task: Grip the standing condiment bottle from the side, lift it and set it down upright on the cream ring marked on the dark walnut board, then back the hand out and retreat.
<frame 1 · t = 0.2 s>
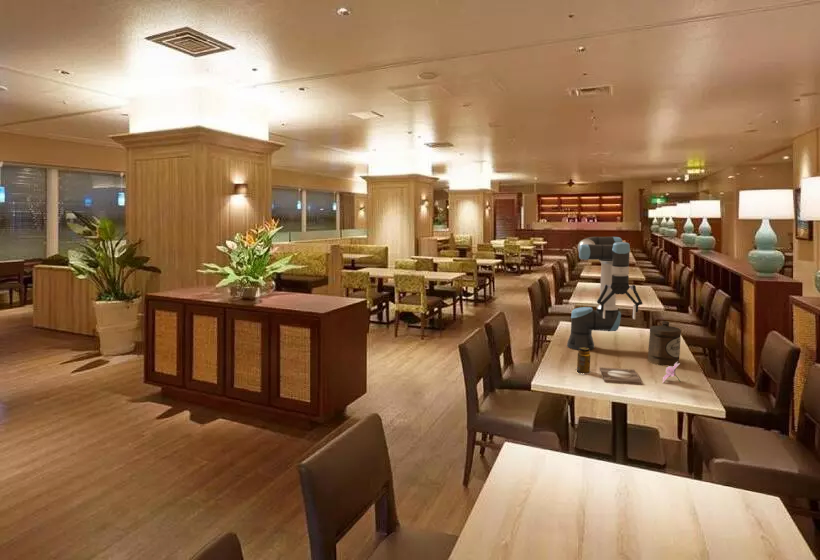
hand: (618, 318, 251), 27 cm above the table, tool pointing down, fingers open, 13 cm apart
board: (619, 376, 249), on the table
wooden container: (663, 362, 274), on the table
lily: (670, 382, 242), on the table
condiment: (581, 372, 257), on the table
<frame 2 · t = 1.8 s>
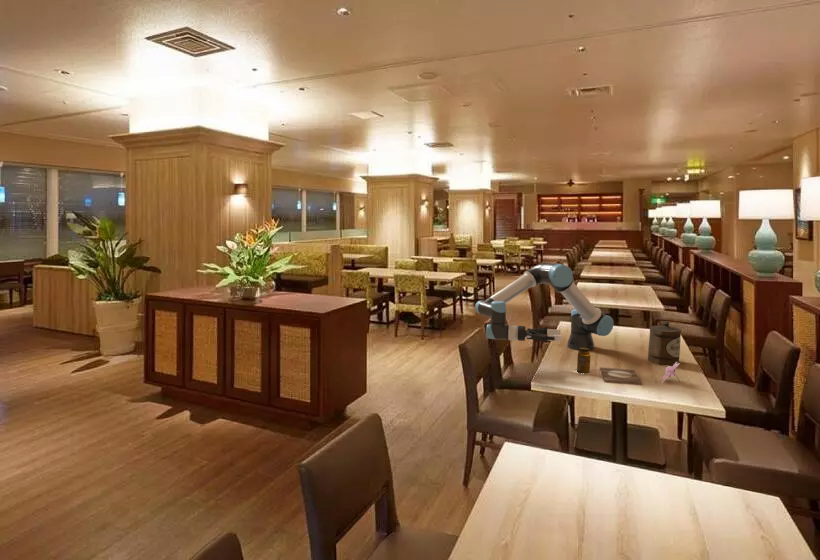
hand: (561, 335, 257), 18 cm above the table, tool horizontal, fingers open, 13 cm apart
nothing on the table moved.
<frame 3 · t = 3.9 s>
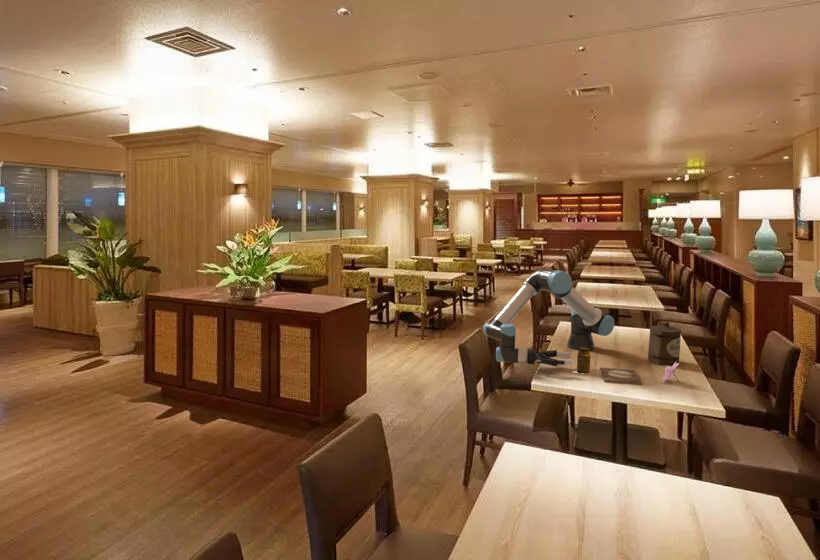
hand: (570, 358, 257), 6 cm above the table, tool horizontal, fingers open, 13 cm apart
nothing on the table moved.
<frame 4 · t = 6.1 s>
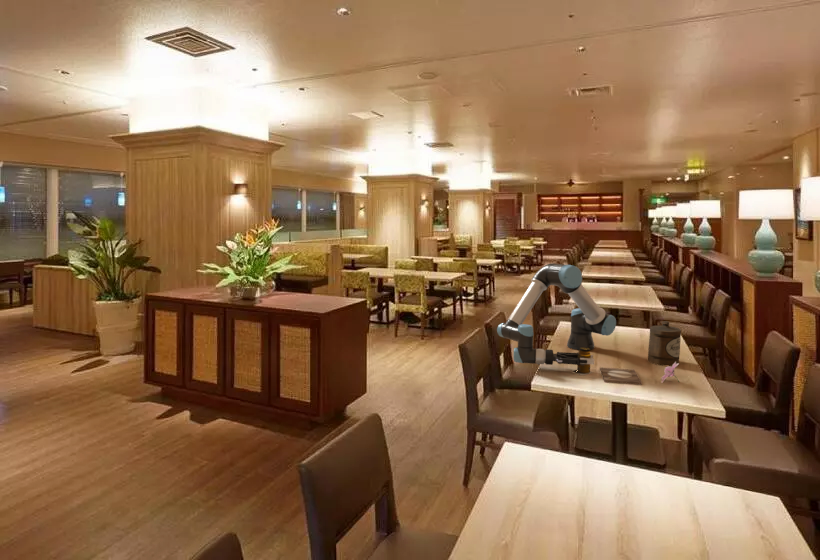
hand: (593, 359, 255), 7 cm above the table, tool horizontal, fingers closed on condiment, 6 cm apart
condiment: (582, 372, 257), on the table, touching gripper
everything else where it was.
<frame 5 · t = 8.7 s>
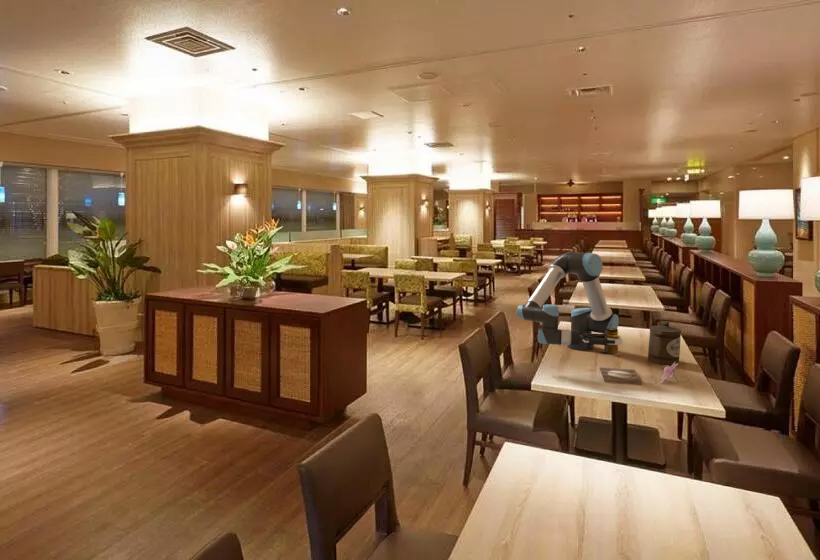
hand: (621, 340, 247), 18 cm above the table, tool horizontal, fingers closed on condiment, 6 cm apart
condiment: (609, 353, 249), point 11 cm above the table, touching gripper
everything else where it was.
when the fingers open (9 cm above the table, at t = 11.4 s): condiment drops 1 cm, resting on board.
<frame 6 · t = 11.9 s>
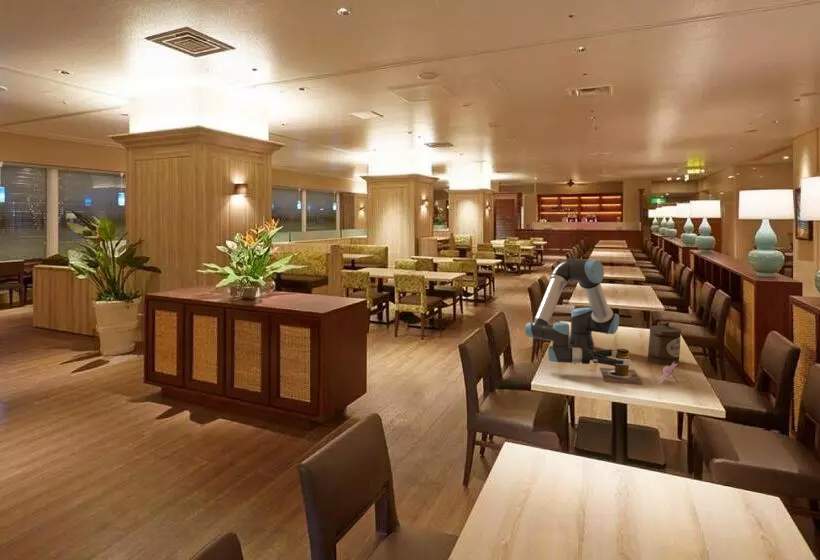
hand: (628, 358, 247), 9 cm above the table, tool horizontal, fingers open, 12 cm apart
condiment: (620, 374, 249), point 1 cm above the table, touching board
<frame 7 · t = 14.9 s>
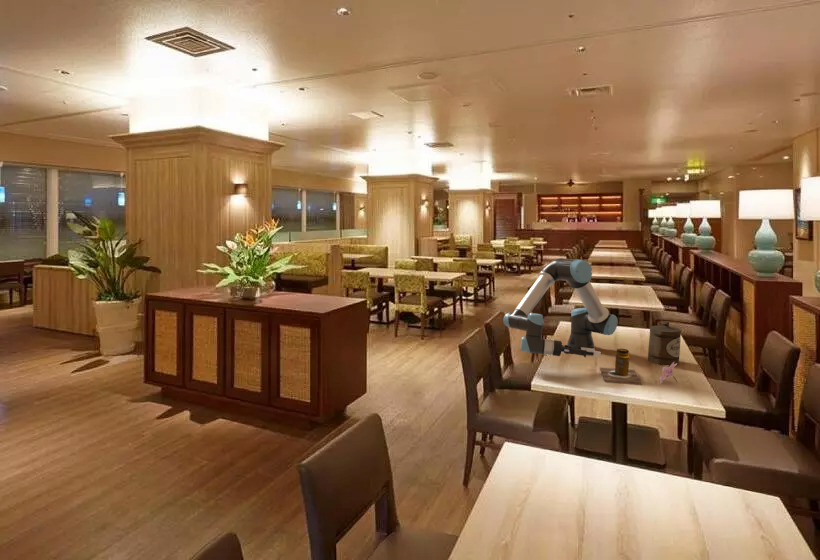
hand: (597, 353, 252), 10 cm above the table, tool horizontal, fingers open, 13 cm apart
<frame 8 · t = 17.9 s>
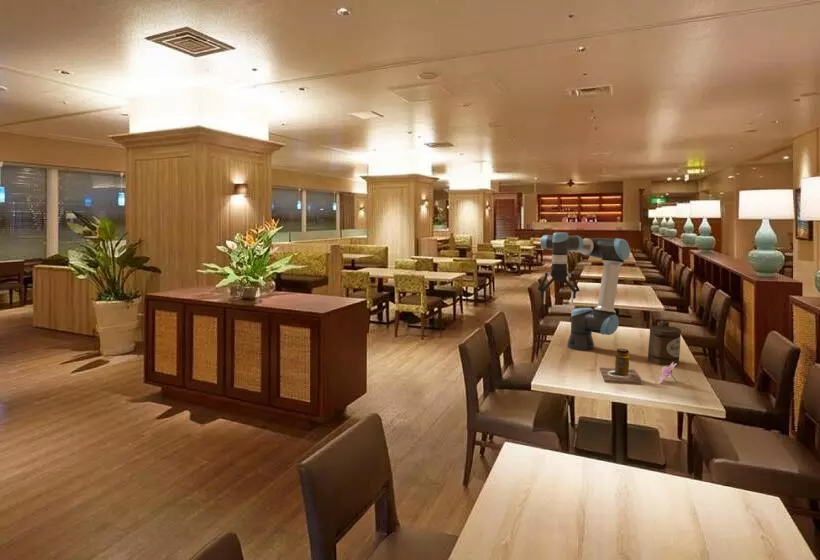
hand: (558, 304, 266), 32 cm above the table, tool pointing down, fingers open, 13 cm apart
at the end: condiment inside the target area on the board (0.7 cm from its centre), point 1.2 cm above the board's base; condiment tilted 0°; the gripper is holding nothing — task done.
